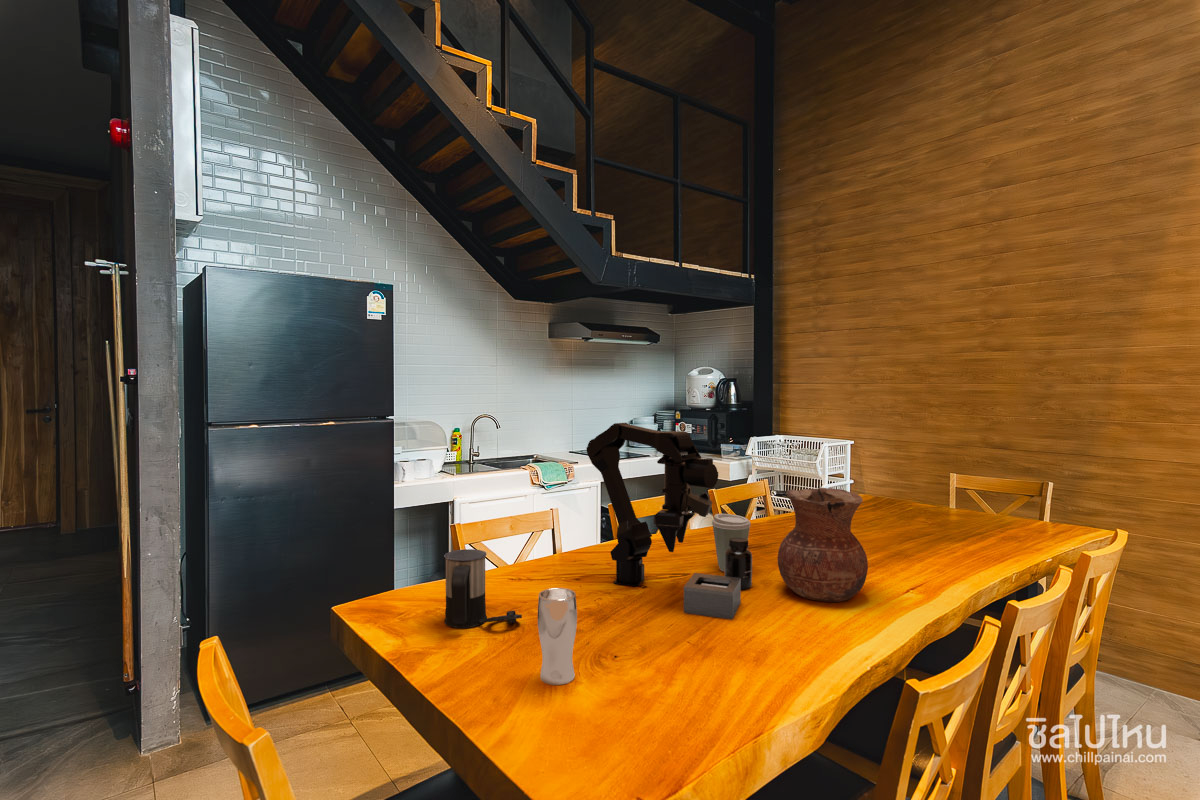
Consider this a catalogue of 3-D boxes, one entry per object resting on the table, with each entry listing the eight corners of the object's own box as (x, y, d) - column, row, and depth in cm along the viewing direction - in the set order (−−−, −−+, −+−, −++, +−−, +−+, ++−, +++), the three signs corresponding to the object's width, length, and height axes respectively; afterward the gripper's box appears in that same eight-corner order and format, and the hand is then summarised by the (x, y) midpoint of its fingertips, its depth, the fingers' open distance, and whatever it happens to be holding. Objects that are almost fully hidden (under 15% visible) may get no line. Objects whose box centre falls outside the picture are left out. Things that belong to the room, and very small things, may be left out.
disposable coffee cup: (747, 564, 181) (748, 512, 181) (753, 576, 171) (753, 521, 170) (710, 563, 182) (710, 511, 182) (713, 575, 172) (713, 520, 171)
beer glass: (538, 669, 116) (537, 587, 116) (576, 667, 117) (576, 586, 116) (537, 687, 109) (537, 601, 109) (578, 685, 110) (577, 599, 109)
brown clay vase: (876, 612, 145) (877, 502, 144) (780, 605, 149) (781, 499, 148) (857, 581, 166) (858, 486, 165) (774, 576, 170) (775, 483, 170)
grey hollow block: (683, 612, 144) (683, 586, 144) (694, 597, 154) (694, 572, 154) (732, 619, 140) (732, 592, 140) (740, 603, 150) (740, 578, 150)
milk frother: (442, 616, 142) (441, 550, 142) (511, 607, 148) (511, 544, 147) (449, 640, 129) (449, 568, 128) (526, 630, 134) (525, 560, 134)
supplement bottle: (752, 591, 159) (752, 543, 158) (724, 589, 160) (724, 542, 160) (751, 582, 166) (751, 536, 165) (724, 581, 167) (724, 535, 166)
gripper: (700, 491, 143) (700, 560, 143) (716, 479, 160) (716, 541, 161) (653, 488, 147) (653, 555, 147) (673, 477, 164) (673, 537, 165)
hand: (676, 547), depth 155 cm, fingers open, 9 cm apart
